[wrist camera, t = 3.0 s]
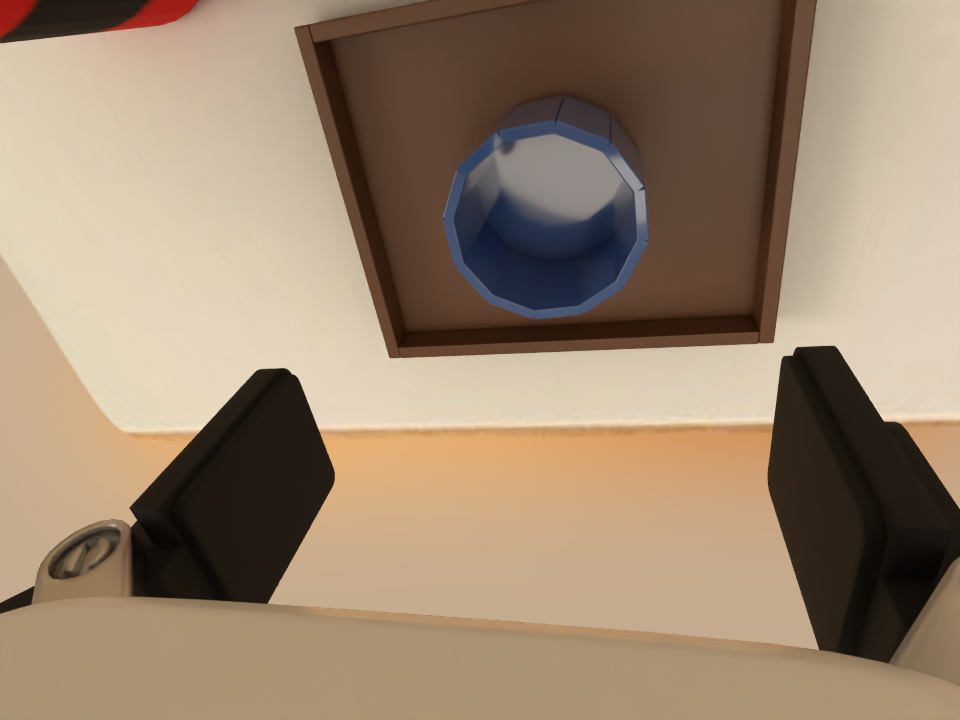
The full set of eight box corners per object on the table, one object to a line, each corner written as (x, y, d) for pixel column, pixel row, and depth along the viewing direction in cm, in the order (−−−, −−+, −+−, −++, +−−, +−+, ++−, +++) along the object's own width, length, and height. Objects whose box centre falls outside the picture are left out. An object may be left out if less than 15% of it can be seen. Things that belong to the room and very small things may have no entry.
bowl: (439, 174, 24) (405, 215, 20) (570, 53, 21) (561, 72, 17) (541, 290, 26) (530, 349, 22) (674, 197, 23) (689, 246, 19)
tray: (401, 337, 30) (389, 358, 28) (316, 23, 22) (292, 27, 21) (763, 320, 26) (774, 343, 24) (807, -73, 18) (827, -78, 16)
